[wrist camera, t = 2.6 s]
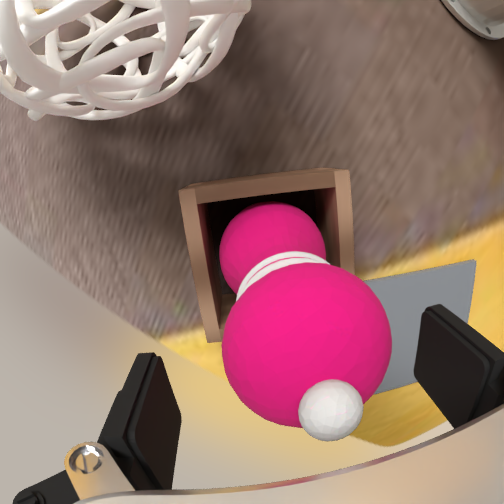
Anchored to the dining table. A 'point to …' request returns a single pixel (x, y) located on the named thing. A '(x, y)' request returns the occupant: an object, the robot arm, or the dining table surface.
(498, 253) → the dining table surface
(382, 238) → the dining table surface
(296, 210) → the pink bowling pin
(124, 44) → the decorative ball
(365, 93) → the dining table surface
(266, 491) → the robot arm
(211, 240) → the holder
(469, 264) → the mat
